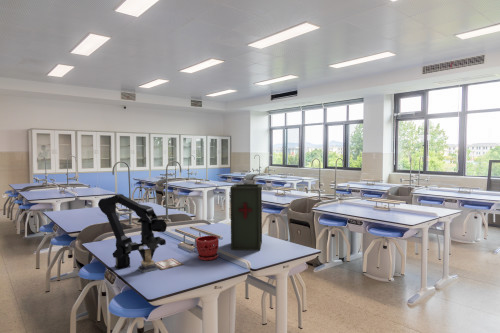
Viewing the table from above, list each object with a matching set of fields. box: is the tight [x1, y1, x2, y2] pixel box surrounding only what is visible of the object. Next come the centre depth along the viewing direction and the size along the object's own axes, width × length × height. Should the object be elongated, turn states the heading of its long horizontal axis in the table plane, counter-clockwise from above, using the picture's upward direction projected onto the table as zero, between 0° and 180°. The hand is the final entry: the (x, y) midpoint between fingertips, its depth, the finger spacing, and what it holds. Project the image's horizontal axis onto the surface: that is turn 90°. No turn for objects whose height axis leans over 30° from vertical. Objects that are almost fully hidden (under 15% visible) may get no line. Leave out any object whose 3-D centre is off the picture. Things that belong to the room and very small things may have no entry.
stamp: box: [140, 248, 155, 268], centre depth 174 cm, size 5×5×9 cm
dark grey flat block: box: [137, 265, 159, 274], centre depth 174 cm, size 8×7×2 cm
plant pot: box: [195, 235, 220, 261], centre depth 192 cm, size 13×13×12 cm
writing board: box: [154, 257, 185, 271], centre depth 182 cm, size 13×13×1 cm
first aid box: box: [229, 183, 263, 251], centre depth 215 cm, size 18×18×40 cm
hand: (147, 260), depth 174 cm, fingers closed on stamp, 4 cm apart
